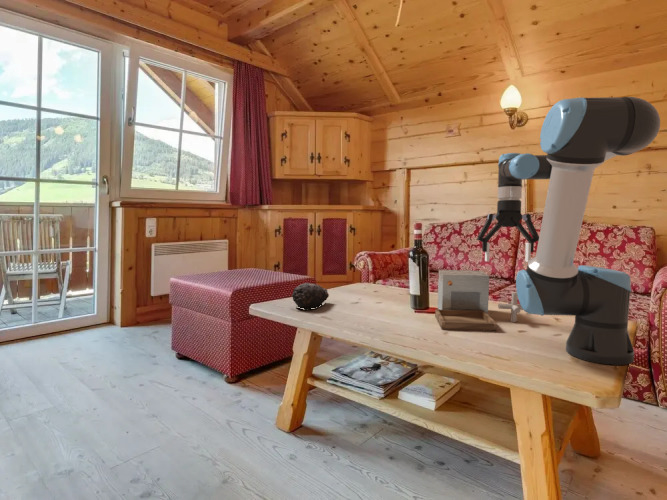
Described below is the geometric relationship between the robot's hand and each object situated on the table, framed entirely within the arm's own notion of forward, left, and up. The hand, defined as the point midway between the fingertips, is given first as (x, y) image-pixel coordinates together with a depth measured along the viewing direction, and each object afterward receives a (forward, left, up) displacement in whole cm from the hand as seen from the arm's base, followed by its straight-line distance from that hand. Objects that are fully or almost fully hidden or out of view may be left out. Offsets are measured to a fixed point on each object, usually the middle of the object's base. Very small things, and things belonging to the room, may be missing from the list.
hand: (507, 261), depth 143 cm
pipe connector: (-2, -2, -21) cm, 21 cm away
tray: (-7, +15, -20) cm, 26 cm away
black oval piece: (+10, +71, -21) cm, 75 cm away
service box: (+8, +13, -20) cm, 26 cm away
